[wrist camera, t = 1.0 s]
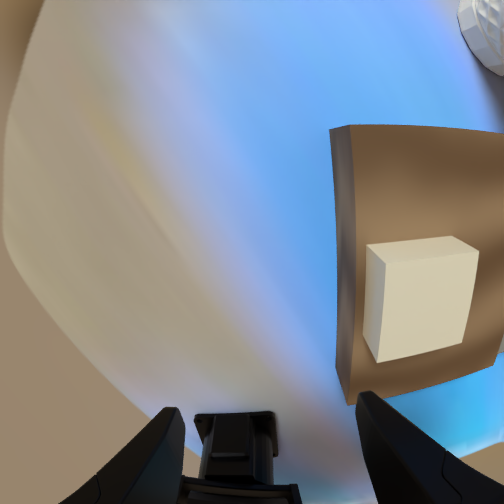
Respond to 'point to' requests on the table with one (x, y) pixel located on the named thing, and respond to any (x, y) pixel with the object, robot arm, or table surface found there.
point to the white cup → (484, 31)
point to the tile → (417, 295)
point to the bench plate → (412, 228)
